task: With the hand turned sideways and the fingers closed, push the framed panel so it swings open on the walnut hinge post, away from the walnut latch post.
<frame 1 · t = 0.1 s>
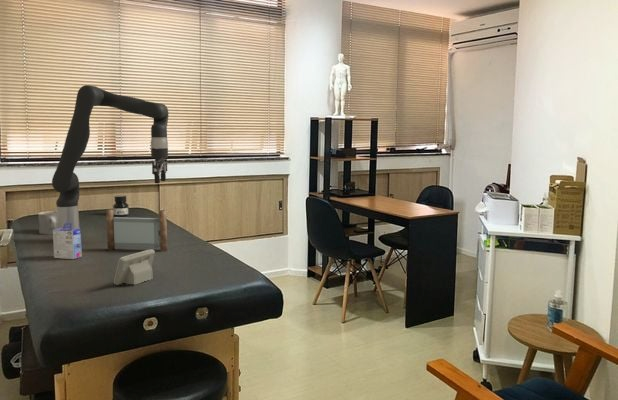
hand: (160, 182, 240), 29 cm above the table, tool pointing down, fingers open, 8 cm apart
digital clock: (135, 281, 188), on the table
latch post: (163, 250, 231), on the table
framed panel: (136, 232, 231), point 8 cm above the table, hinge at 0.0°
coffee mug: (50, 232, 265), on the table
hinge post: (111, 249, 232), on the table
ink cartridge box: (68, 257, 218), on the table
ink bottle: (121, 215, 314), on the table
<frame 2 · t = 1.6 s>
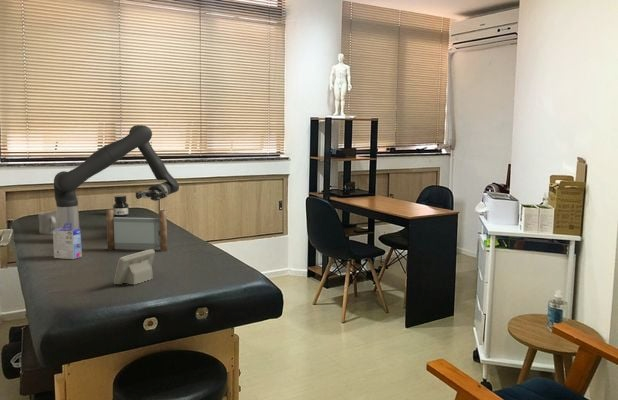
hand: (145, 196, 241), 22 cm above the table, tool horizontal, fingers open, 7 cm apart
nothing on the table moved.
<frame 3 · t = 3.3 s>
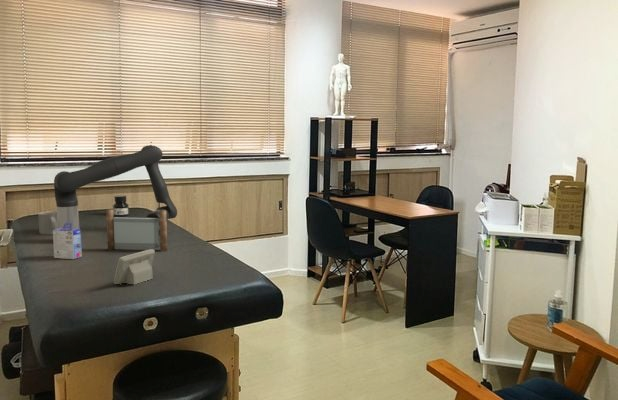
hand: (143, 226, 238), 9 cm above the table, tool horizontal, fingers closed
nothing on the table moved.
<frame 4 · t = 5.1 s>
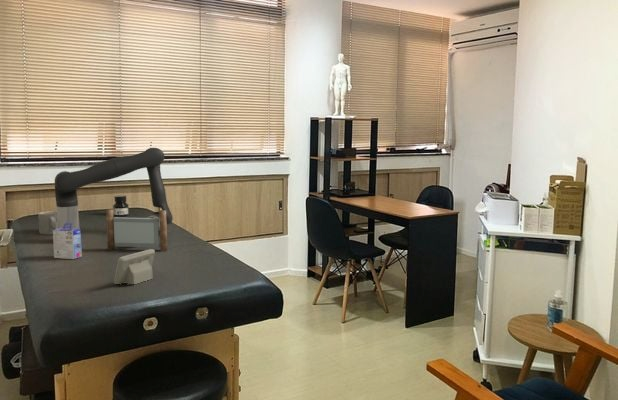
hand: (137, 232, 231), 8 cm above the table, tool horizontal, fingers closed
framed panel: (136, 232, 231), point 8 cm above the table, hinge at -0.5°, touching gripper
everything else where it was.
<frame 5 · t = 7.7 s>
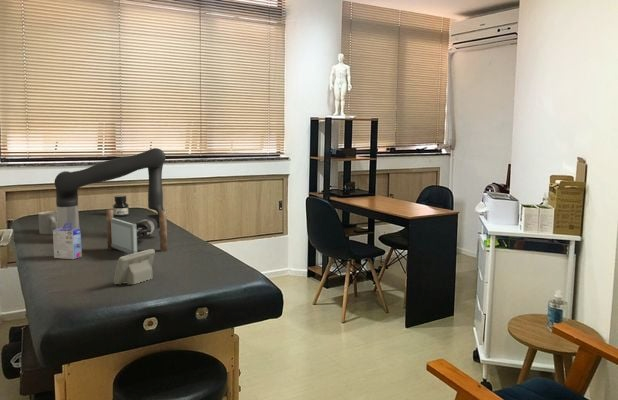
hand: (129, 237, 222), 8 cm above the table, tool horizontal, fingers closed
framed panel: (123, 236, 223), point 8 cm above the table, hinge at -40.7°
everything else where it was.
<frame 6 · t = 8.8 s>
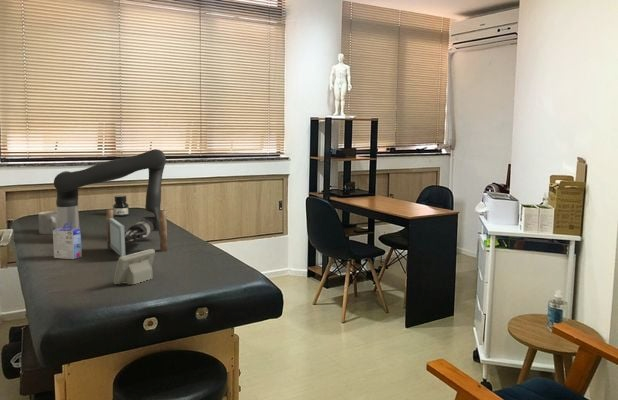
hand: (124, 240, 216), 8 cm above the table, tool horizontal, fingers closed
framed panel: (116, 237, 221), point 8 cm above the table, hinge at -54.1°, touching gripper
everything else where it was.
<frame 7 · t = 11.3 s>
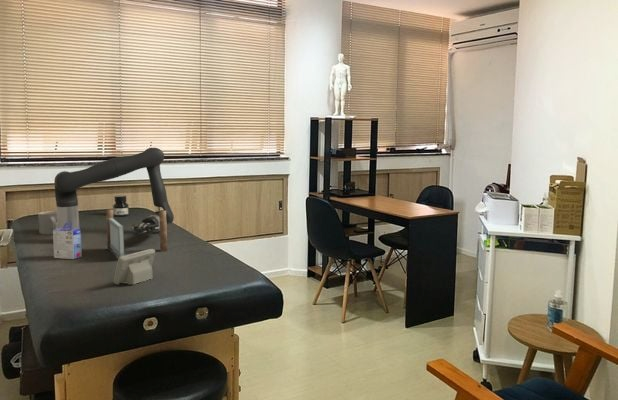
hand: (138, 231, 233), 8 cm above the table, tool horizontal, fingers closed
framed panel: (116, 237, 221), point 8 cm above the table, hinge at -55.4°
everything else where it was.
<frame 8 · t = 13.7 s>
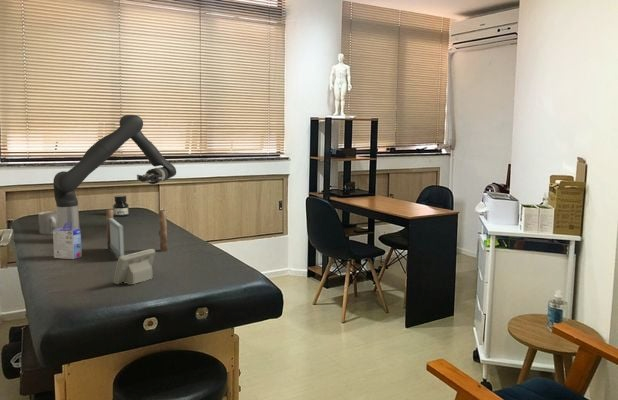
hand: (142, 179, 242), 30 cm above the table, tool horizontal, fingers closed
nothing on the table moved.
at the end: framed panel at -55° (first picture: +0°); ink cartridge box moved 0.3 cm from its start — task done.
